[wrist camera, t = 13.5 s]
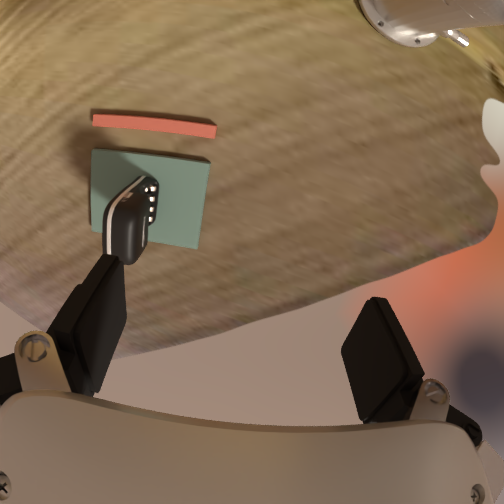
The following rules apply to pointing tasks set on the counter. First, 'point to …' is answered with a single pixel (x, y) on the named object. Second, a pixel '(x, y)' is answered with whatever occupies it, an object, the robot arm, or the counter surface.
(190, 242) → the mat
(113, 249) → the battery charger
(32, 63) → the counter surface
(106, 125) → the bar
